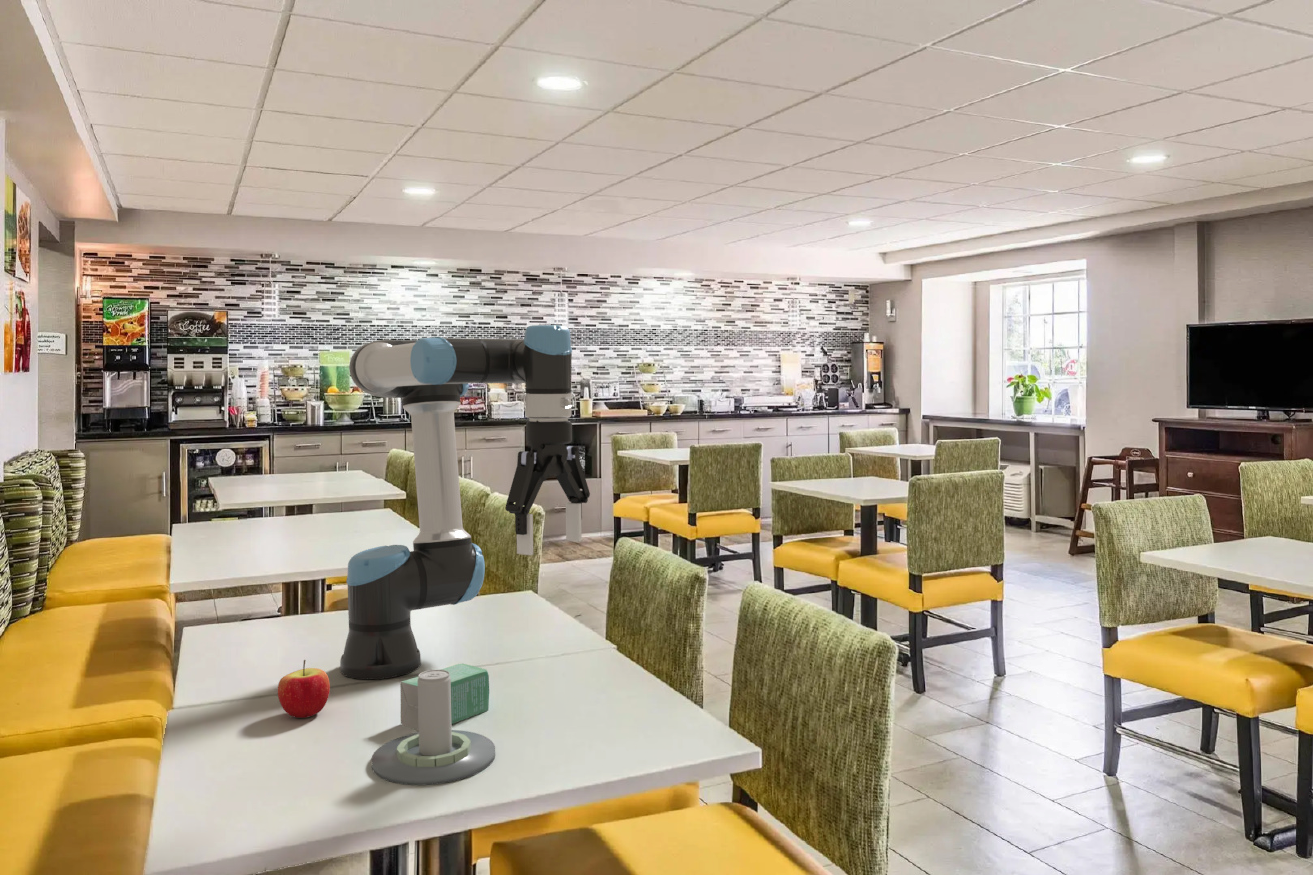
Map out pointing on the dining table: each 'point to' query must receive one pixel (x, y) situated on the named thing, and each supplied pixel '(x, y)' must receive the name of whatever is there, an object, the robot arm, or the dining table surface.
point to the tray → (433, 759)
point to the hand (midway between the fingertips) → (550, 547)
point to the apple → (304, 692)
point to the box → (465, 695)
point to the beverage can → (434, 712)
